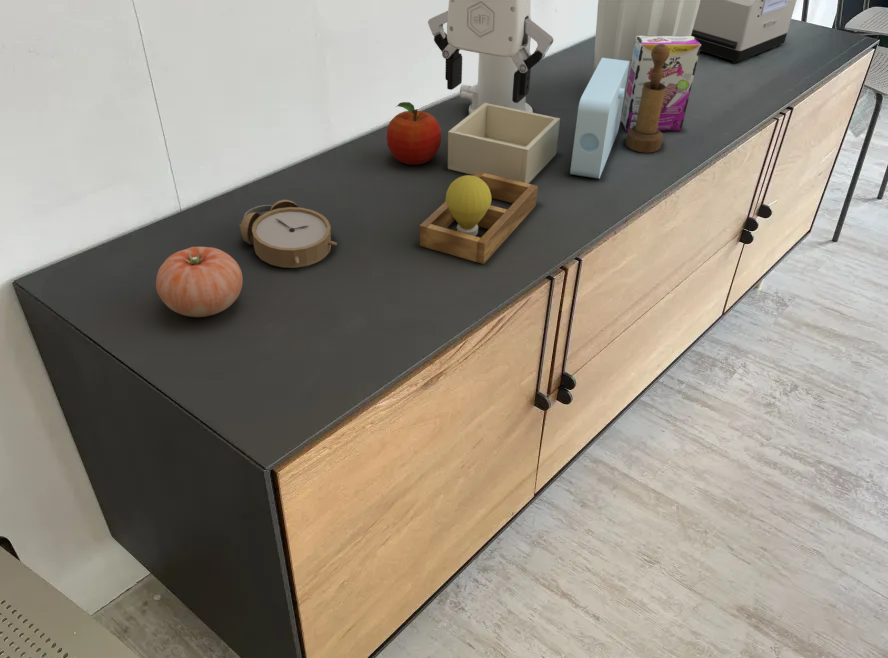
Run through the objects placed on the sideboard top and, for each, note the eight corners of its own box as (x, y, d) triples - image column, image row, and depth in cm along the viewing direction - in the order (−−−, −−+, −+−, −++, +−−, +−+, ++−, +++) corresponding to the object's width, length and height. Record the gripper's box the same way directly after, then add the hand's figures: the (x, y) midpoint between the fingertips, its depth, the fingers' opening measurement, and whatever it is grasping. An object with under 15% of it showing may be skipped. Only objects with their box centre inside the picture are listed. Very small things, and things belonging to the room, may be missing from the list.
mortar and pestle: (660, 154, 142) (681, 53, 130) (624, 151, 143) (642, 49, 131) (660, 139, 147) (680, 40, 135) (625, 136, 148) (642, 37, 136)
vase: (698, 106, 159) (732, -42, 141) (616, 119, 154) (640, -35, 136) (646, 74, 173) (672, -65, 155) (569, 84, 167) (586, -59, 149)
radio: (603, 182, 133) (615, 106, 124) (569, 177, 134) (579, 101, 125) (623, 129, 150) (635, 59, 141) (593, 125, 151) (603, 55, 142)
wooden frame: (419, 246, 116) (419, 225, 114) (477, 190, 130) (478, 171, 128) (483, 264, 113) (484, 243, 110) (536, 205, 126) (538, 185, 124)
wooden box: (447, 169, 136) (448, 131, 131) (483, 138, 146) (484, 102, 141) (524, 188, 131) (528, 149, 126) (556, 154, 141) (560, 118, 136)
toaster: (735, 66, 178) (756, -16, 166) (646, 39, 191) (660, -39, 180) (788, 45, 190) (810, -34, 178) (700, 20, 204) (716, -54, 192)
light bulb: (451, 252, 115) (453, 191, 108) (440, 230, 120) (440, 169, 113) (494, 247, 116) (498, 185, 110) (481, 225, 121) (484, 165, 115)
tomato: (148, 324, 100) (133, 272, 95) (185, 279, 108) (172, 228, 103) (227, 335, 99) (216, 282, 94) (259, 288, 107) (250, 237, 102)
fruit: (426, 176, 133) (426, 119, 127) (377, 165, 136) (375, 109, 130) (450, 154, 140) (451, 99, 134) (403, 144, 143) (402, 90, 136)
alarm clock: (286, 261, 107) (220, 206, 113) (286, 288, 111) (222, 234, 116) (348, 231, 113) (282, 181, 119) (346, 257, 117) (282, 207, 123)
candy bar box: (625, 132, 149) (641, 43, 138) (619, 122, 153) (634, 34, 142) (683, 131, 150) (702, 43, 139) (675, 121, 153) (694, 34, 143)
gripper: (415, -50, 95) (417, 90, 106) (548, -32, 89) (534, 114, 100) (443, -61, 100) (442, 73, 111) (570, -45, 95) (555, 95, 106)
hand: (486, 92), depth 106 cm, fingers open, 9 cm apart
